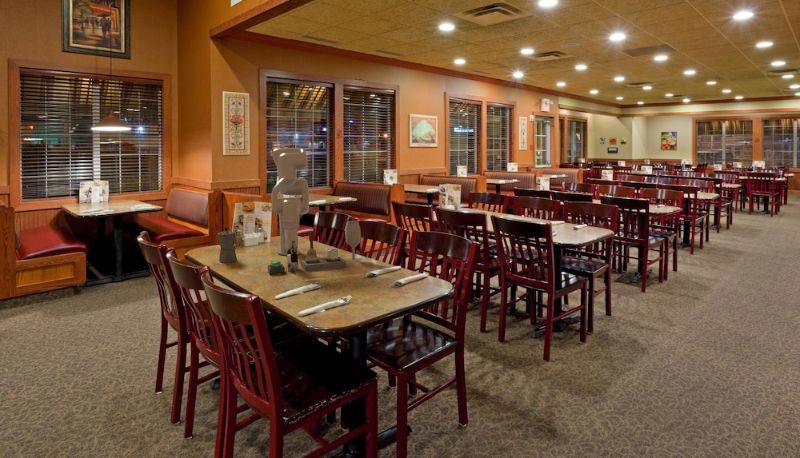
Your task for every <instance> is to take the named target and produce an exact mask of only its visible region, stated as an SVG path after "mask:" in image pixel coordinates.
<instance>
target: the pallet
mask: <svg viewBox="0 0 800 458" xmlns="http://www.w3.org/2000/svg"><path fill="white" fill-rule="evenodd" d="M300 266H301V267H302V269H303V270H304V271H305V272H312V271H323V270H330V269H331V270H332V269H340V268H346V267H347V261H346V260H344V259H343V258H341V257H340V256H338V261H337V262H328V257H326V258H325V257H323V258H319V259H310V260H305V259H301V260H300Z"/></svg>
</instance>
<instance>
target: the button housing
mask: <svg viewBox="0 0 800 458" xmlns="http://www.w3.org/2000/svg"><path fill="white" fill-rule="evenodd" d="M285 270H286V269H285V265H284V264H283V263H281V267H277V268H271V264H270V265H269V264H268V265H267V272H268V274H269V275H270V276H273V275H280V274H281V275H282V274H283V275H284V274H286V271H285Z"/></svg>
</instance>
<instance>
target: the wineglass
mask: <svg viewBox="0 0 800 458" xmlns="http://www.w3.org/2000/svg"><path fill="white" fill-rule="evenodd" d="M361 233H362V231H361V226H360V223H359V221H356V220H349V221H347V222H346V225H345V233H344V235H345V236H344V237H345V241H346V243H347V244H348V245H349V246H350V247H351V257H348V258H346V259H345V262H351V263H353V262H354V263H356V262H360V261H362V259H361V257H356V255H355V254H356V252H355V248H356V247H357V246H358V245H359V244H360V242H361V238H362V235H361Z"/></svg>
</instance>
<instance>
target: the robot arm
mask: <svg viewBox="0 0 800 458" xmlns="http://www.w3.org/2000/svg"><path fill="white" fill-rule="evenodd" d="M271 155H272V159H273V162H274V164H275V167H276V168H277V174H278V175H277V176H278V178H277V179H278V181H277V182H276V183H275V185H274V186H273V188H272V191H271V195H270V196H271V198H270V199H271V209H272V212H273V213H274V214H277V215H278V218H279V219H278V220H279V221H278V223H279V238H280V239H279V241H280V250H278V252H277V255H279V256H287V255H288V254H291V263H296V262H298V263H299V257H298V256H299V254H301V253H302V252H301V250H300V249H299V236H298V229H300V215H306V214H308V213H309V211H310V193H309V192H310V191H309V183H308V180H307V179H306V178H304V177H297V170H304V169H306V168H307V167H308V156H307V151H306V149H304V148H303V147H278V148H277V147H276V148H274V149H273V151H272V154H271ZM279 193H280V195H282V196H289V197H282V198H280V197H279V198H278V195H279ZM291 196H296V197H291ZM297 196H298V197H297Z"/></svg>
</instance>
